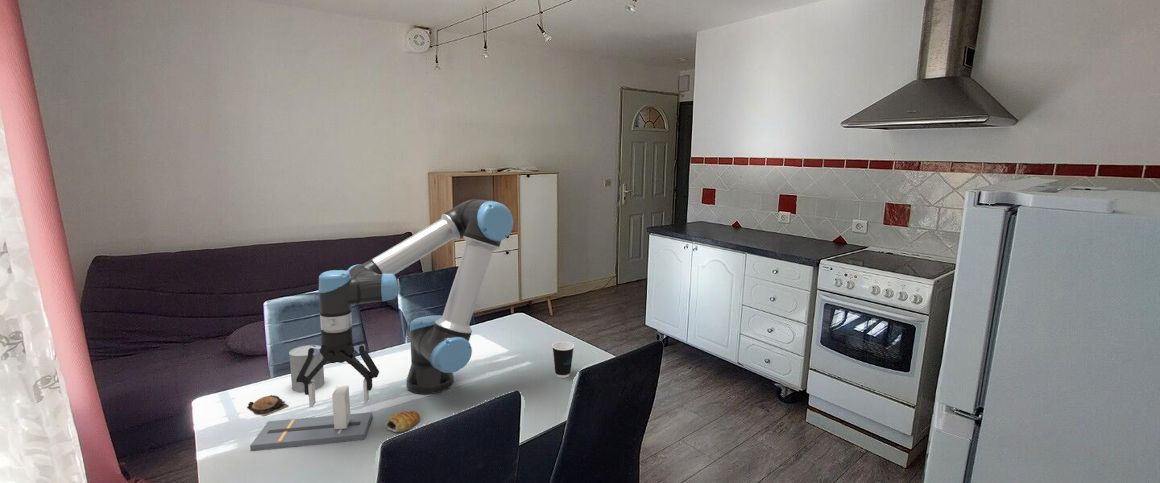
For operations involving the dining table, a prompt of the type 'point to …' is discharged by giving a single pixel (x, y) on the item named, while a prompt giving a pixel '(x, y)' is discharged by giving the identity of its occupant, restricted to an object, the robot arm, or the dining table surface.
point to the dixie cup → (562, 358)
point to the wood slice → (267, 405)
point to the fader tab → (341, 407)
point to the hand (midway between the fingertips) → (339, 403)
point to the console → (310, 431)
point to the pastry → (402, 421)
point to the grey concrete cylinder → (296, 364)
